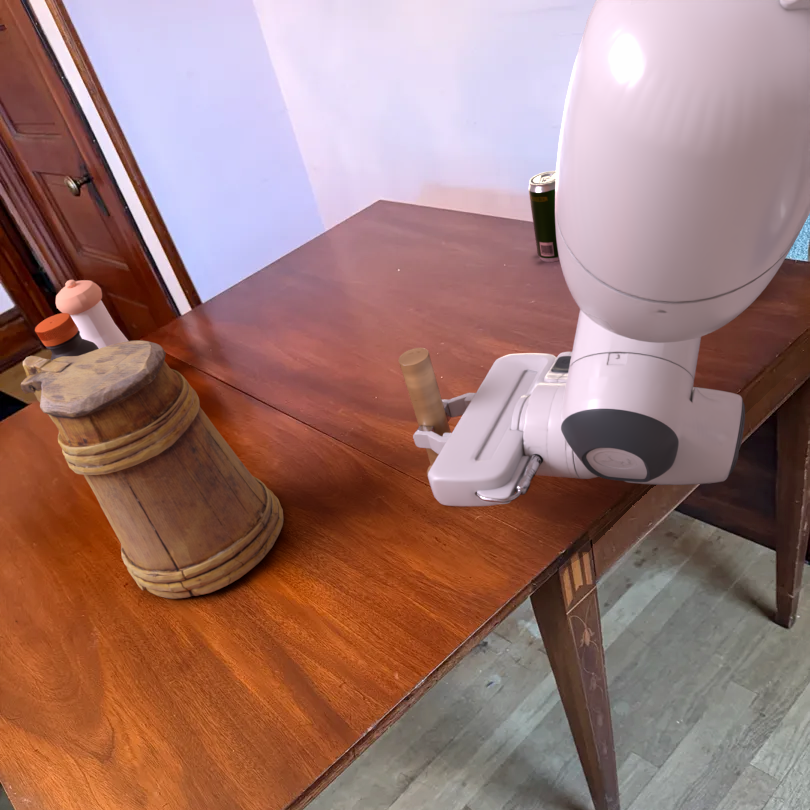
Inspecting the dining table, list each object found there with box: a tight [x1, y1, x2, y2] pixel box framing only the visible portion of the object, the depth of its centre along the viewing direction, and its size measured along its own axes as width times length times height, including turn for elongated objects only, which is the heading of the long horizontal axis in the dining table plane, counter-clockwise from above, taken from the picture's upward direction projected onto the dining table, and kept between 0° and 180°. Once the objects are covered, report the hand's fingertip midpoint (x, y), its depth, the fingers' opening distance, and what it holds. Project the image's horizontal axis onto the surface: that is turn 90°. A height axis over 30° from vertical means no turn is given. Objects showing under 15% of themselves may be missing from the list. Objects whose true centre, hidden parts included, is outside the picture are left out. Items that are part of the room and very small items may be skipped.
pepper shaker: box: [55, 279, 129, 349], centre depth 118 cm, size 7×7×19 cm
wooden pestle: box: [397, 347, 452, 477], centre depth 77 cm, size 4×4×17 cm
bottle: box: [34, 312, 99, 360], centre depth 105 cm, size 7×7×20 cm
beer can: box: [528, 170, 560, 263], centre depth 115 cm, size 5×5×12 cm
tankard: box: [20, 340, 285, 600], centre depth 81 cm, size 18×24×25 cm
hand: (425, 422), depth 77 cm, fingers closed on wooden pestle, 3 cm apart
